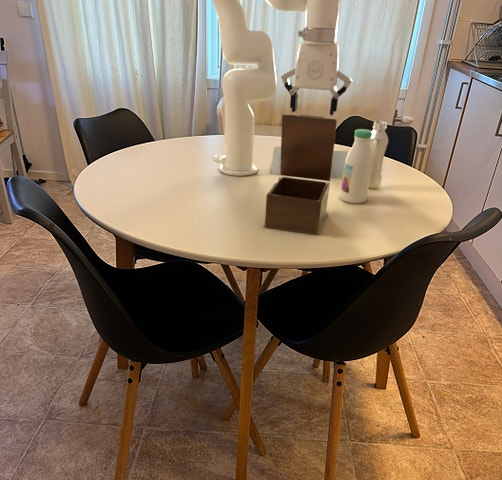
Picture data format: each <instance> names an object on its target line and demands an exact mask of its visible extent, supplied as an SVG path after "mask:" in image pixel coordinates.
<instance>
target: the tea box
mask: <svg viewBox="0 0 502 480" xmlns="http://www.w3.org/2000/svg"><path fill="white" fill-rule="evenodd" d="M330 185H331V183H330V181H323V180H315V179H307V178H299V177H291V176H283V175H280V176H279V177H278V178H277V180H276V181H275V182H274V184H273V186H271V188H269V191H268V192H267V193H266V196H265V197H266V198H265V214H264V228H266V229H271V230H280V231H287V232H293V233H300V234H307V235H312V236H313V235H314V236H318V235H319V233H320V230H321V227H322V226H323V222H324V219H325V217H326V214H327V209H328V201H329V192H330Z"/></svg>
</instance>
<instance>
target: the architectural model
mask: <svg viewBox="0 0 502 480" xmlns="http://www.w3.org/2000/svg"><path fill="white" fill-rule="evenodd" d="M348 153H349V152H348V151H340V150H334V151H333V160H332V169H331V178H334V179H343V174H344V168H345V162H346V158H347V155H348ZM280 164H281V146H280V147H279V146H278V147H277V146H276V148H275V154H274V157H273V163H272V168H271V172H270V173H271V174H276V175H280Z"/></svg>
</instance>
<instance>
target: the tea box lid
mask: <svg viewBox="0 0 502 480" xmlns="http://www.w3.org/2000/svg"><path fill="white" fill-rule="evenodd" d="M337 123H338V118H337V119H336V118H328V117H327V118H326V117H324V116H319V115H310V114H309V115H308V114H307V115H306V114H300V115H294V114H285V113H282V115H281V135H280V137H281V139H280V148H281V164H280V174H279V175H280V176H282V177H290V178H298V179H306V180H314V181H323V182H330V181H331V178H332V177H331V169H332V160H333V151H335V150H334V149H335V141H336V132H337Z"/></svg>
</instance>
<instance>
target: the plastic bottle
mask: <svg viewBox="0 0 502 480" xmlns="http://www.w3.org/2000/svg"><path fill="white" fill-rule="evenodd" d="M387 125H388V122H387V121H383V120H375V121H373V125H372V130H371V131H372V136H371V140H370V150H371V153H372V170H371V176H370V182H369V189H370V188H372V189H373V188H378V187H380V185H381V183H382V181H383V173H382V172H383V162H384V157H385V154H386V150H387V147H388V144H389V137H388V134H387V133H386V130H387Z"/></svg>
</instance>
